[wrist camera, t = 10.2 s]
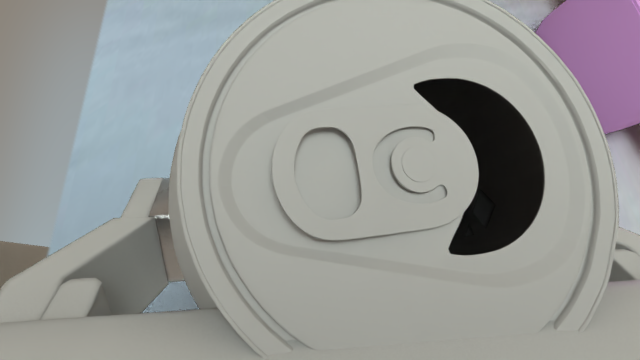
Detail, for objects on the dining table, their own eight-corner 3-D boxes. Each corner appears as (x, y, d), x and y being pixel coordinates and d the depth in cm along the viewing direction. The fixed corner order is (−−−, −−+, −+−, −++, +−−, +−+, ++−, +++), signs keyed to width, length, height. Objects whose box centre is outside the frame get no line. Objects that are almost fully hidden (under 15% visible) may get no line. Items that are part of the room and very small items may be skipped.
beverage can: (397, 309, 16) (730, 394, 5) (239, 337, 15) (152, 537, 4) (370, 161, 18) (574, -61, 6) (224, 177, 16) (126, -56, 5)
